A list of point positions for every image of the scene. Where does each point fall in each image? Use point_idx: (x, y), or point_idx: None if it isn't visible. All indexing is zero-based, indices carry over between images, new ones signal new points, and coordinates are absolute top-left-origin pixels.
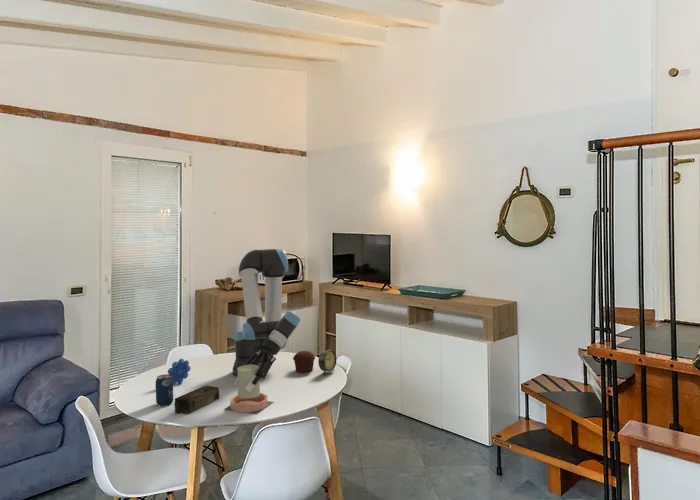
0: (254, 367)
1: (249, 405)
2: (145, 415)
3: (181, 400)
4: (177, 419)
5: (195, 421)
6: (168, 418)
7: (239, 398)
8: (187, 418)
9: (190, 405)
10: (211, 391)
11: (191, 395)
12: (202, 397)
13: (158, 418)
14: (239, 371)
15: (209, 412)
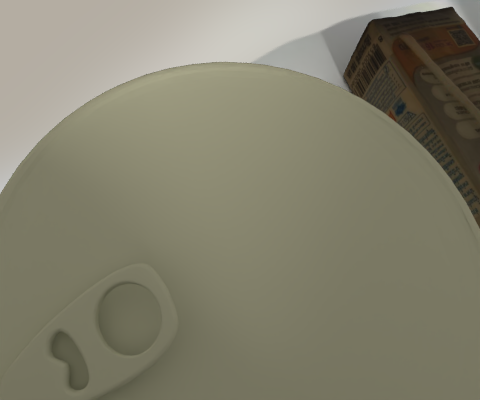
0: (88, 332)
1: None
2: (450, 3)
3: (411, 14)
4: (332, 37)
5: (256, 61)
6: (366, 26)
7: None
8: (314, 60)
9: (363, 49)
10: (474, 180)
11: (448, 62)
12: (414, 111)
13: (391, 10)
14: (235, 77)
15: None
